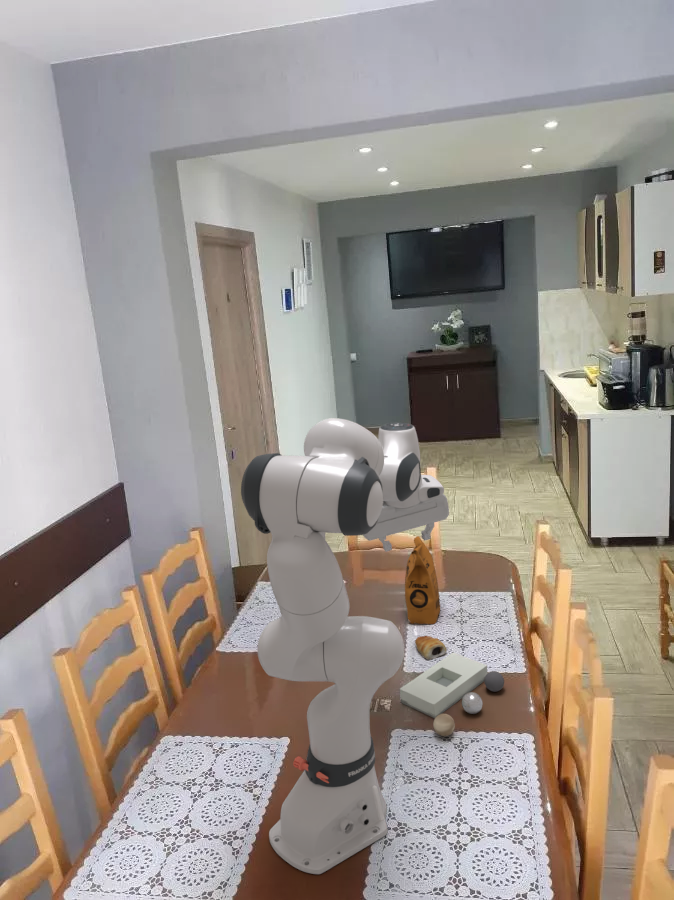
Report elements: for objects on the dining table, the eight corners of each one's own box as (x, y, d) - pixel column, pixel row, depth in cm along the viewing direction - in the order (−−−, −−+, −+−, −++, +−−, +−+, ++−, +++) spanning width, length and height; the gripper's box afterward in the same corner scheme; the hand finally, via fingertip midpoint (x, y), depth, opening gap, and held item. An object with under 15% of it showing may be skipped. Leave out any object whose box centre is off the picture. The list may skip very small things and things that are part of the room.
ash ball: (446, 743, 150) (445, 724, 149) (429, 735, 153) (428, 716, 152) (459, 733, 153) (458, 714, 152) (442, 725, 156) (441, 706, 155)
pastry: (409, 646, 190) (408, 633, 189) (431, 639, 193) (430, 626, 192) (427, 662, 182) (426, 648, 181) (450, 655, 184) (449, 641, 183)
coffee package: (402, 625, 201) (396, 552, 196) (408, 605, 213) (403, 535, 208) (438, 626, 199) (433, 552, 194) (442, 605, 210) (437, 535, 205)
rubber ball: (497, 697, 164) (496, 680, 163) (480, 690, 167) (479, 673, 166) (508, 688, 167) (507, 671, 166) (492, 682, 170) (491, 665, 169)
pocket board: (435, 718, 159) (434, 704, 158) (400, 702, 166) (399, 688, 165) (487, 678, 172) (486, 665, 171) (453, 665, 179) (453, 652, 178)
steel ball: (475, 720, 156) (473, 702, 155) (458, 713, 160) (457, 695, 159) (487, 710, 159) (486, 692, 158) (470, 703, 163) (469, 685, 162)
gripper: (362, 509, 152) (368, 563, 158) (450, 485, 157) (453, 539, 163) (352, 496, 157) (359, 549, 163) (438, 474, 162) (441, 526, 168)
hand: (407, 544), depth 163 cm, fingers open, 8 cm apart
